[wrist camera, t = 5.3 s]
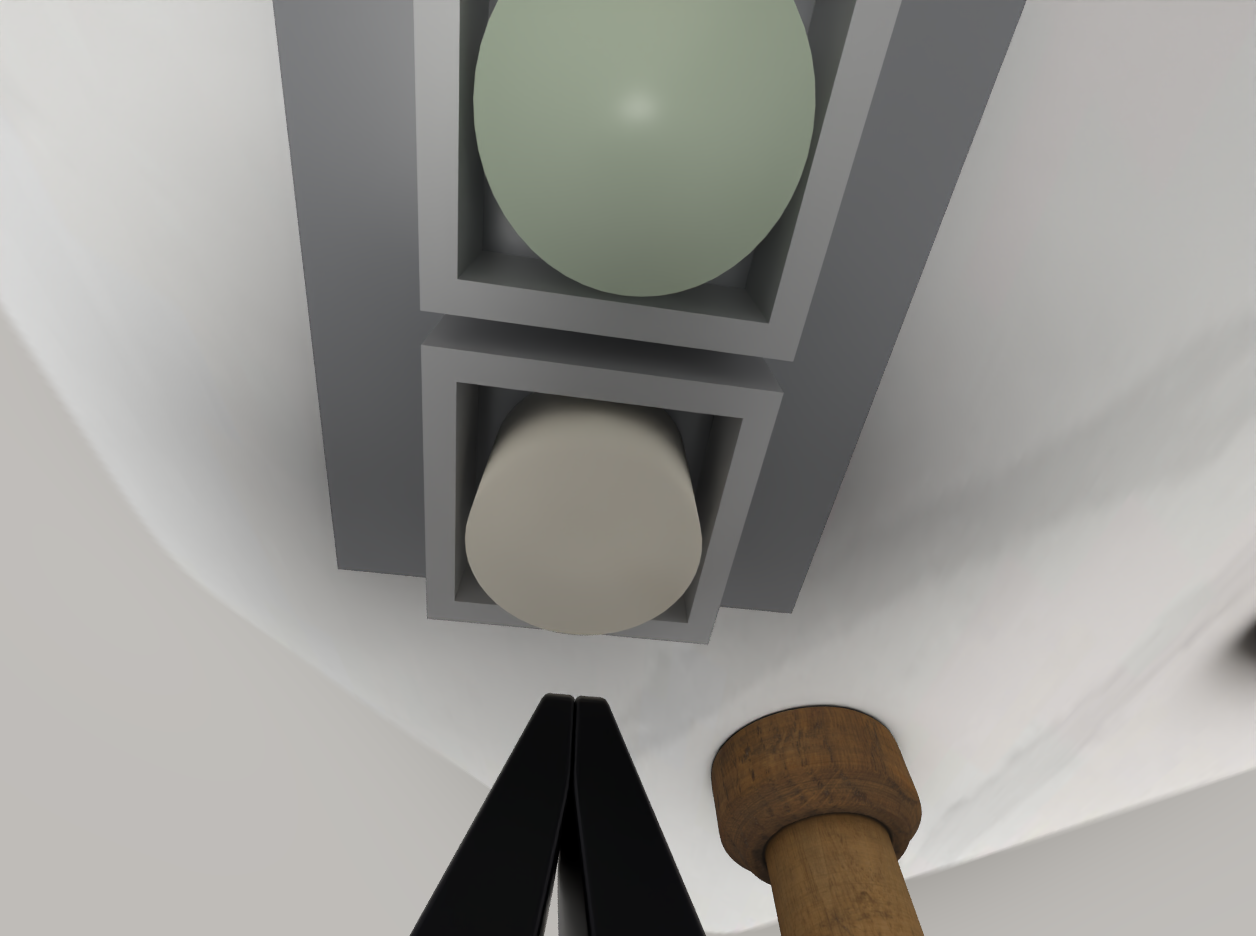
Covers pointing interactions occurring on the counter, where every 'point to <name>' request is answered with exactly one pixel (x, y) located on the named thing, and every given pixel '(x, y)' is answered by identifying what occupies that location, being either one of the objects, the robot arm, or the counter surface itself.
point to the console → (600, 321)
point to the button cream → (585, 515)
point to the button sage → (644, 132)
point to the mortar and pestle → (821, 820)
